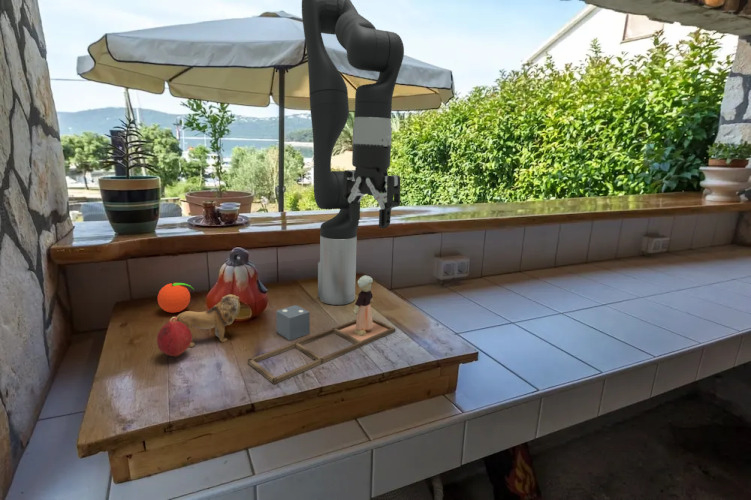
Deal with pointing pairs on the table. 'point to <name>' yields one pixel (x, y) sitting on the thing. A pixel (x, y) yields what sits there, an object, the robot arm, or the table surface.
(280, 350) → the board
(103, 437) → the table surface
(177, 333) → the red oval fruit
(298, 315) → the die
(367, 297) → the grandmother figurine
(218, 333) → the lion figurine
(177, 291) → the clementine
